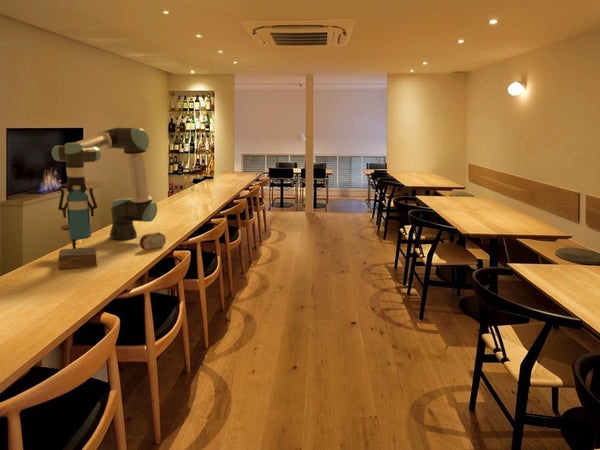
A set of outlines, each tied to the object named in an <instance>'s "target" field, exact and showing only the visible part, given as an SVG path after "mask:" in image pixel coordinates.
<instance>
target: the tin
mask: <svg viewBox="0 0 600 450" xmlns="http://www.w3.org/2000/svg"><path fill="white" fill-rule="evenodd" d="M165 244H166V236H165V234H163V233H161V232H153V233H152V232H151V233H147V234H144V235H142V236H141V238H140V240H139V246H140V247H141V249H143V250H146V251H150V250H154V249H160V248H162V247H163V246H165Z"/></svg>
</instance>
